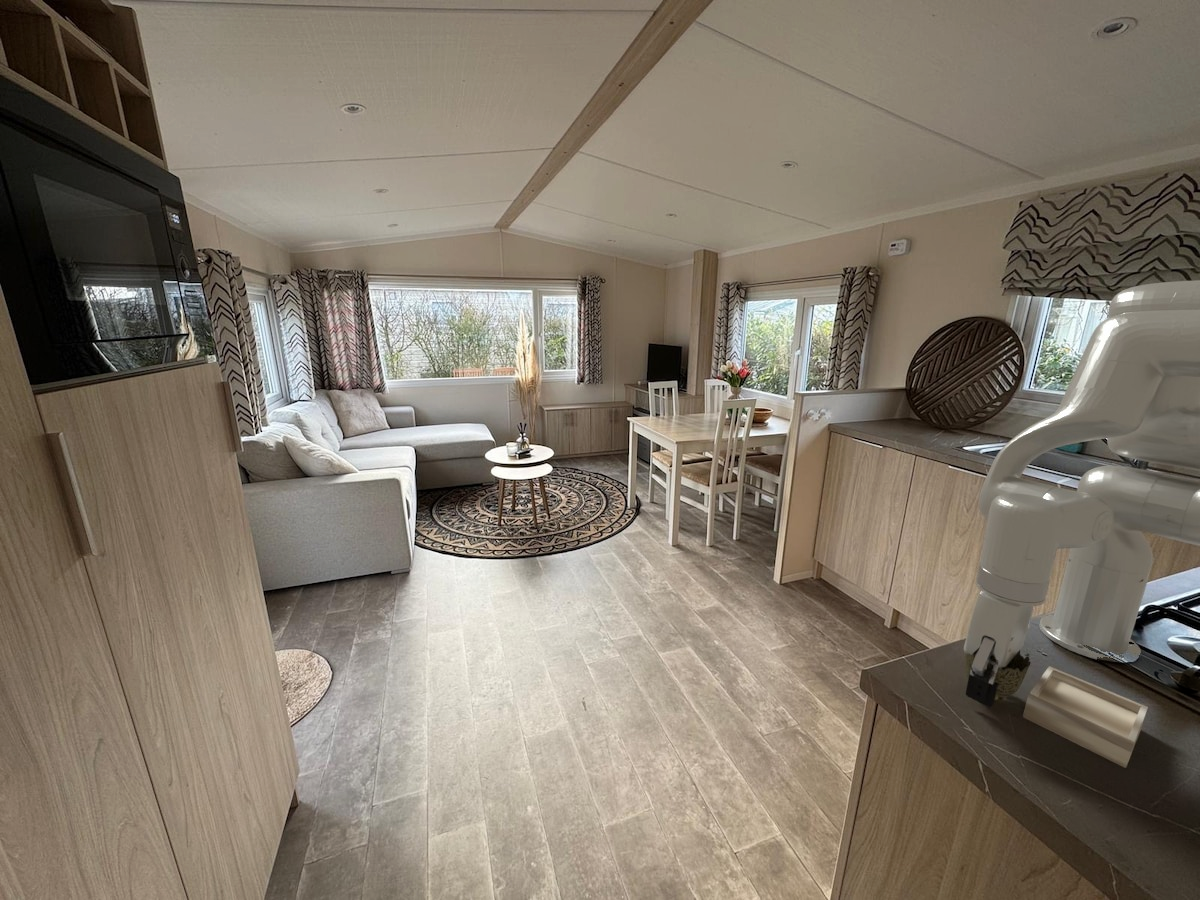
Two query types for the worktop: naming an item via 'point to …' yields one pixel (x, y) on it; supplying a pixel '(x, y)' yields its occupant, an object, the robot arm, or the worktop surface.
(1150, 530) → the robot arm
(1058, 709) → the birch tray
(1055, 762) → the worktop surface
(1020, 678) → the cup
